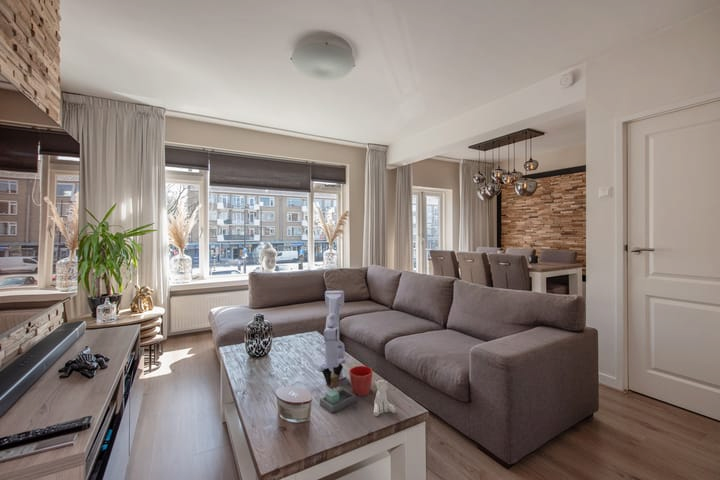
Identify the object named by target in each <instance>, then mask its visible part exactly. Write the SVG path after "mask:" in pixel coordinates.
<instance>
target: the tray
mask: <svg viewBox="0 0 720 480" xmlns="http://www.w3.org/2000/svg"><path fill="white" fill-rule="evenodd" d="M336 391H337V392H338V393H339V403H337V404H334V405H332V404H330V403H328V402H327V401H326V395H325V396H324V397H321V398H319V405H320V406H321V407H322V408H324V409H325V410H327V411H328V412H330V413H332V414H334V413H336V412H338V411H340V410H342V409H343V408H347V407H348V406H350V405H352V404H354V403H356V402H357V395H356V394H355V393H353V392H351V391H349V390H346V389H345V388H341V389H339V390H336Z"/></svg>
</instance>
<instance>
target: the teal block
mask: <svg viewBox="0 0 720 480" xmlns="http://www.w3.org/2000/svg"><path fill="white" fill-rule="evenodd" d="M337 391H338V390H335V389H330V390H329V391H326V393H325V396H326V401H327V402H328V403H330V404H332V405H334V404H337V403H339V393H338V392H337Z"/></svg>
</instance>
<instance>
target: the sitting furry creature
mask: <svg viewBox="0 0 720 480" xmlns="http://www.w3.org/2000/svg"><path fill="white" fill-rule="evenodd" d="M374 384H375V385H376V390H377V392H376V394H375V398H374V403H373V416H374V417H378V416H379V415H380V414H384V413H388V412H391V413H392V414H395V413H396V411H397V409H396V407H395V405H394V404H392V403H390V402H389V400H388V394H387V392H386V391H387V390H388V380H387V381H386V380H384V379H381V380H380V379H378V380H377V381H374Z"/></svg>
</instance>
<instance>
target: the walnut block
mask: <svg viewBox="0 0 720 480" xmlns="http://www.w3.org/2000/svg"><path fill="white" fill-rule="evenodd" d="M330 380H331V383H330V385H328V384H326V387H327V388H328V389H330V390H334V389H335V388H338V387H339V381H340V380H339V379H338V375H336V374H335V373H331V378H330Z"/></svg>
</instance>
